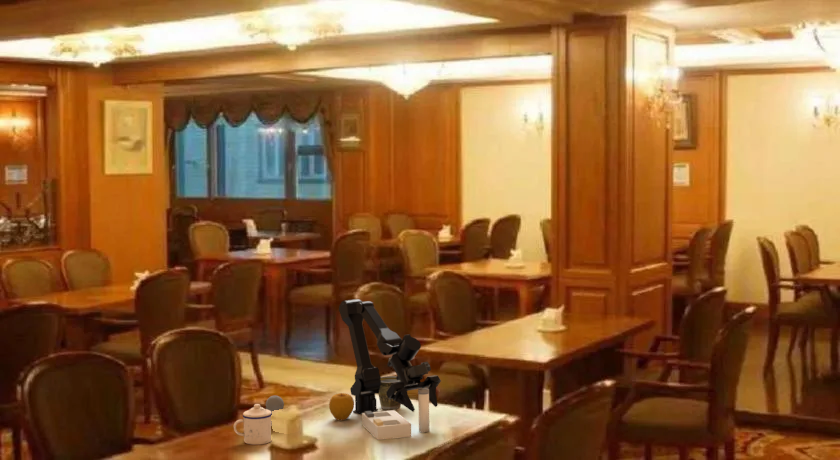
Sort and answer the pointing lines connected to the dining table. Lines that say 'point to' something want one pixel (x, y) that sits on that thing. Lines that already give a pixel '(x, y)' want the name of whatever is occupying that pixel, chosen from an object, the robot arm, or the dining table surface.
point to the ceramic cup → (383, 397)
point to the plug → (423, 409)
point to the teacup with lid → (256, 425)
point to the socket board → (386, 424)
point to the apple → (341, 406)
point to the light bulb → (274, 403)
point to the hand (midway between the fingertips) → (425, 408)
